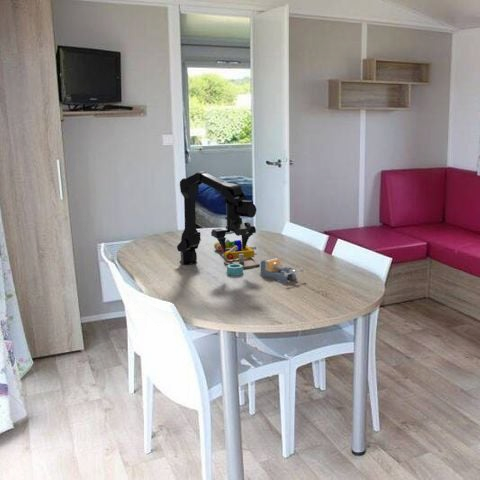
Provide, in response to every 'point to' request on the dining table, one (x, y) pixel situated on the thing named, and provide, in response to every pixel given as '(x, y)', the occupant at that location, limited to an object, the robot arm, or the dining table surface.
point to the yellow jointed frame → (235, 249)
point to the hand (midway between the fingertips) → (234, 250)
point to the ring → (234, 269)
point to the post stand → (243, 262)
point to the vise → (277, 270)
